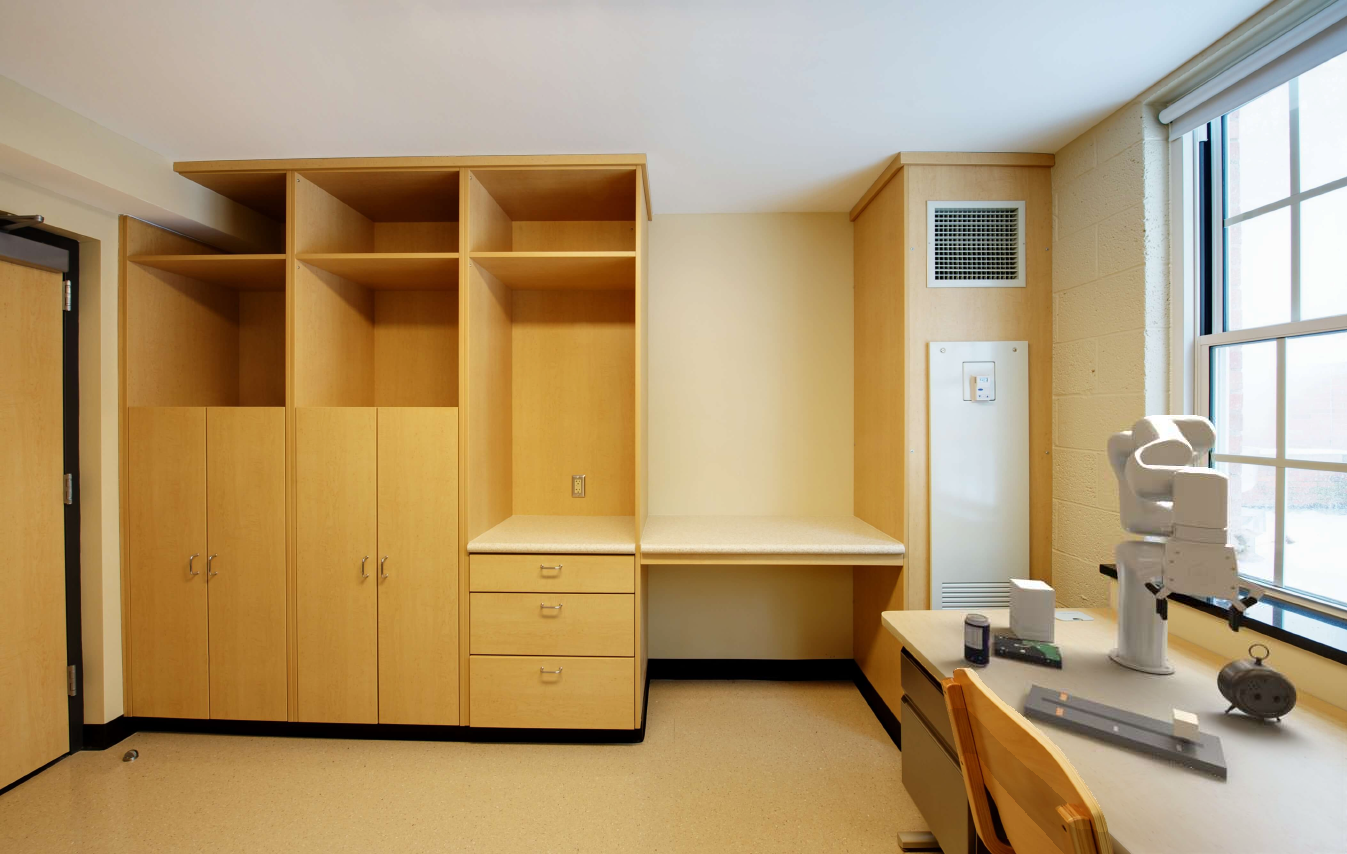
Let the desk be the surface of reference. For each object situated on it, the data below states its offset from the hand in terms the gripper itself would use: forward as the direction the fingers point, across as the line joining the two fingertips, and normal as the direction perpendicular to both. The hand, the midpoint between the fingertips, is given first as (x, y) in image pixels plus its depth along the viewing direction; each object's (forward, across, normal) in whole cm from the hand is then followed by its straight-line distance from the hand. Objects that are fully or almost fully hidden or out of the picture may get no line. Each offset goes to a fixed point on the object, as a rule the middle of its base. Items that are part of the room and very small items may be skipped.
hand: (1197, 623), depth 100 cm
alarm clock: (+24, +13, +21) cm, 34 cm away
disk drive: (+24, -28, +29) cm, 47 cm away
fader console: (+24, -12, 0) cm, 27 cm away
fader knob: (+22, -2, -2) cm, 22 cm away
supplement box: (+23, -27, +45) cm, 58 cm away
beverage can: (+24, -38, +16) cm, 48 cm away
